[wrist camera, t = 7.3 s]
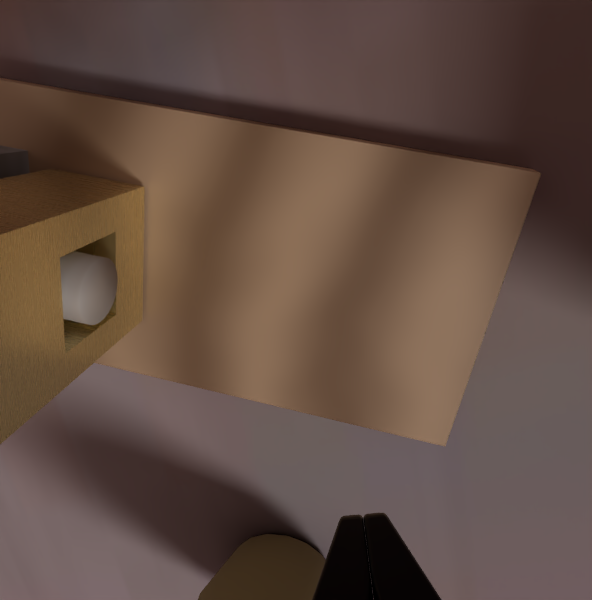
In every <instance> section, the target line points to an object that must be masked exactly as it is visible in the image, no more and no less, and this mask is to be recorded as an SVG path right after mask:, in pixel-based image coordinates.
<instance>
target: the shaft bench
mask: <svg viewBox="0 0 592 600" xmlns="http://www.w3.org/2000/svg"><path fill="white" fill-rule="evenodd" d="M48 169H56V170H61V171H67V172H72V173H77V174H82V175H87V176H93V177H98V178H103V179H108V180H113V181H119V182H124V183H129V184H134V185H139V186H145V193H144V252H143V311H142V321H141V322H140V323H139V324H138V325H137V326H135V327H134V328H133V329H132V330H131V331H130V332H129V333H127V334H126V335H125V336H124V337H123V338H122V339H121V340H119V341H118V342H117V343H116V344H115V345H114V346H112V347H111V348H110V349H109V350H108V351H107V352H106V353H104V354H103V355H102V356H101V357H100V358H99V359H98V360H96V361H95V362H94V363H98V364H102V365H106V366H110V367H115V368H119V369H123V370H127V371H131V372H136V373H140V374H144V375H148V376H152V377H156V378H161V379H165V380H169V381H173V382H177V383H182V384H186V385H190V386H194V387H198V388H202V389H207V390H211V391H215V392H219V393H223V394H228V395H232V396H236V397H240V398H244V399H249V400H253V401H257V402H261V403H265V404H269V405H274V406H278V407H282V408H286V409H290V410H295V411H299V412H303V413H307V414H311V415H316V416H320V417H324V418H328V419H332V420H336V421H341V422H345V423H349V424H353V425H357V426H362V427H366V428H370V429H374V430H378V431H382V432H387V433H391V434H395V435H399V436H403V437H408V438H412V439H416V440H420V441H424V442H429V443H433V444H437V445H441V446H445V445H446V442H447V440H448V437H449V434H450V431H451V428H452V425H453V423H454V420H455V417H456V414H457V411H458V408H459V405H460V403H461V400H462V397H463V394H464V391H465V388H466V386H467V383H468V380H469V377H470V374H471V371H472V369H473V366H474V363H475V360H476V357H477V354H478V351H479V349H480V346H481V343H482V340H483V337H484V334H485V332H486V329H487V326H488V323H489V320H490V317H491V315H492V312H493V309H494V306H495V303H496V300H497V297H498V295H499V292H500V289H501V286H502V283H503V280H504V278H505V275H506V272H507V269H508V266H509V263H510V261H511V258H512V255H513V252H514V249H515V246H516V244H517V241H518V238H519V235H520V232H521V229H522V226H523V224H524V221H525V218H526V215H527V212H528V209H529V207H530V204H531V201H532V198H533V195H534V192H535V190H536V187H537V184H538V181H539V178H540V175H541V173H540V172H538V171H535V170H533V169H530V168H524V167H518V166H512V165H507V164H501V163H495V162H489V161H483V160H477V159H472V158H466V157H460V156H454V155H448V154H442V153H437V152H431V151H425V150H419V149H413V148H407V147H402V146H396V145H390V144H384V143H378V142H373V141H367V140H361V139H355V138H349V137H343V136H338V135H332V134H326V133H320V132H314V131H308V130H303V129H297V128H291V127H285V126H279V125H273V124H268V123H262V122H256V121H250V120H244V119H238V118H233V117H227V116H221V115H215V114H209V113H203V112H198V111H192V110H186V109H180V108H174V107H168V106H163V105H157V104H151V103H145V102H139V101H134V100H128V99H122V98H116V97H110V96H104V95H99V94H93V93H87V92H81V91H75V90H69V89H64V88H58V87H52V86H46V85H40V84H34V83H29V82H23V81H17V80H11V79H5V78H0V179H1V178H6V177H12V176H17V175H22V174H27V173H32V172H38V171H43V170H48ZM60 270H61V286H62V303H63V319H66V320H71V321H75V322H79V323H84V324H88V325H96V324H98V323H99V322H101V321H102V320H103V319H104V318H105V317H106V315H107V314H108V313H109V311H110V309H111V307H112V305H113V302H114V299H115V296H116V292H117V285H118V276H117V270H116V267H115V265H114V263H113V261H112V260H110V259H109V258H105V257H101V256H96V255H91V254H87V253H82V252H77V251H73V252H71V253H68V254H66V255H64V256H62V257H60Z"/></svg>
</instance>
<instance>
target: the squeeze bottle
mask: <svg viewBox="0 0 592 600" xmlns="http://www.w3.org/2000/svg"><path fill="white" fill-rule="evenodd" d="M325 561H326V560H325V559H324V557H323V556H322V555H321V554H320V553H319V552H317V551H316V550H315V549H314V548H312V547H311V546H310V545H308V544H307V543H305V542H302V541H300V540H297V539H295V538H292V537H290V536H285V535H275V534H265V535H260V536H256V537H251V538H249V539H248V540H247V541H245V542H244V543H243V544H241V545H240V546H239V547H238V548H237V549H236V550H235V552H234V553H233V554H232V555H231V556H230V558H229V559H228V560H227V561H226V563H225V564H224V565H223V566H222V567H221V569H220V570H219V571H218V572H217V574H216V575H215V576H214V577H213V578H212V580H211V581H210V582H209V583H208V585H207V586H206V587H205V588H204V589H203V591H202V592H201V593H200V595H199V598H198V600H312V598H313V596H314V593H315V590H316V587H317V584H318V581H319V578H320V575H321V572H322V569H323V567H324V564H325Z"/></svg>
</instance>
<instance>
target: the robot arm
mask: <svg viewBox="0 0 592 600" xmlns="http://www.w3.org/2000/svg"><path fill="white" fill-rule="evenodd" d="M364 527H365V529H364ZM365 535H366V537H365ZM366 543H367V545H366ZM367 551H368V553H367ZM368 558H369V561H368ZM369 566H370V568H369ZM370 574H371V576H370ZM371 582H372V584H371ZM372 590H373V592H372ZM373 598H374V600H441V598H440V597H439V595H438V594H437V592H436V591H435V589H434V588H433V586H432V584H431V583H430V581H429V580H428V578H427V577H426V575H425V574H424V572H423V571H422V569H421V567H420V566H419V564H418V563H417V561H416V560H415V558H414V557H413V555H412V554H411V552H410V550H409V549H408V547H407V546H406V544H405V543H404V541H403V540H402V538H401V537H400V535H399V533H398V532H397V530H396V529H395V527H394V526H393V524H392V523H391V521H390V520H389V518H388V517H387V515H386V514H384V513H372V514H366V515H365V516H364V521H363V517H362V516H361V515H349V516H343V517H341V519H340V520H339V523H338V526H337V529H336V532H335V535H334V538H333V540H332V543H331V546H330V549H329V552H328V555H327V558H326V561H325V564H324V567H323V569H322V572H321V575H320V578H319V581H318V584H317V587H316V590H315V593H314V596H313V598H312V600H373Z"/></svg>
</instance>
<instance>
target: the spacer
mask: <svg viewBox="0 0 592 600" xmlns="http://www.w3.org/2000/svg"><path fill="white" fill-rule="evenodd" d="M144 193H145V186H139V185H134V184H129V183H124V182H119V181H113V180H108V179H103V178H98V177H93V176H87V175H82V174H77V173H72V172H67V171H61V170H56V169H48V170H43V171H38V172H32V173H27V174H22V175H17V176H12V177H6V178H1V179H0V444H1V443H2V442H3V441H5V440H6V439H7V438H8V437H9V436H10V435H11V434H13V433H14V432H15V431H16V430H17V429H18V428H20V427H21V426H22V425H23V424H24V423H25V422H26V421H28V420H29V419H30V418H31V417H32V416H33V415H34V414H36V413H37V412H38V411H39V410H40V409H41V408H42V407H44V406H45V405H46V404H47V403H48V402H49V401H51V400H52V399H53V398H54V397H55V396H56V395H57V394H59V393H60V392H61V391H62V390H63V389H64V388H65V387H67V386H68V385H69V384H70V383H71V382H72V381H73V380H75V379H76V378H77V377H78V376H79V375H80V374H81V373H83V372H84V371H85V370H86V369H87V368H88V367H90V366H91V365H92V364H93V363H94V362H95V361H96V360H98V359H99V358H100V357H101V356H102V355H103V354H104V353H106V352H107V351H108V350H109V349H110V348H111V347H112V346H114V345H115V344H116V343H117V342H118V341H119V340H121V339H122V338H123V337H124V336H125V335H126V334H127V333H129V332H130V331H131V330H132V329H133V328H134V327H135V326H137V325H138V324H139V323H140V322H141V321H142V311H143V252H144ZM73 251H77V252H82V253H87V254H91V255H96V256H101V257H105V258H109V259H110V260H112V261H113V263H114V265H115V267H116V270H117V276H118V285H117V292H116V296H115V299H114V302H113V305H112V307H111V309H110V311H109V313H108V314H107V315H106V317H105V318H104V319H103V320H102V321H101V322H99V323H98V324H96V325H88V324H84V323H79V322H75V321H71V320H66V319H63V303H62V286H61V270H60V257H62V256H64V255H66V254H68V253H71V252H73Z"/></svg>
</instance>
